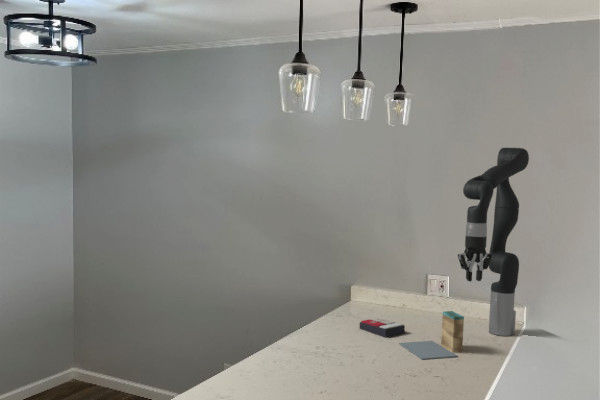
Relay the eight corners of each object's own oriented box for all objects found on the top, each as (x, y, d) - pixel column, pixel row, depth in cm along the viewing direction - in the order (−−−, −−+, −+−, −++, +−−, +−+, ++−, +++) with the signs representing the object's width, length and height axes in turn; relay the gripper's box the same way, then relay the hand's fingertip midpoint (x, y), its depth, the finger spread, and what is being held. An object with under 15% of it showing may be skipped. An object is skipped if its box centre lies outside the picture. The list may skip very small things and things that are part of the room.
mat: (432, 341, 229) (432, 340, 228) (457, 356, 211) (457, 355, 211) (398, 343, 224) (398, 342, 224) (422, 359, 207) (422, 358, 207)
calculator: (378, 316, 250) (405, 323, 238) (378, 326, 250) (405, 334, 238) (359, 320, 244) (385, 327, 232) (359, 330, 244) (385, 338, 232)
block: (450, 345, 225) (452, 311, 224) (462, 351, 218) (463, 316, 217) (441, 345, 224) (442, 311, 223) (452, 352, 216) (454, 317, 216)
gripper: (486, 233, 226) (484, 278, 227) (453, 233, 222) (451, 279, 223) (498, 235, 219) (496, 282, 220) (464, 236, 215) (462, 283, 216)
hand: (473, 280), depth 221 cm, fingers open, 3 cm apart
